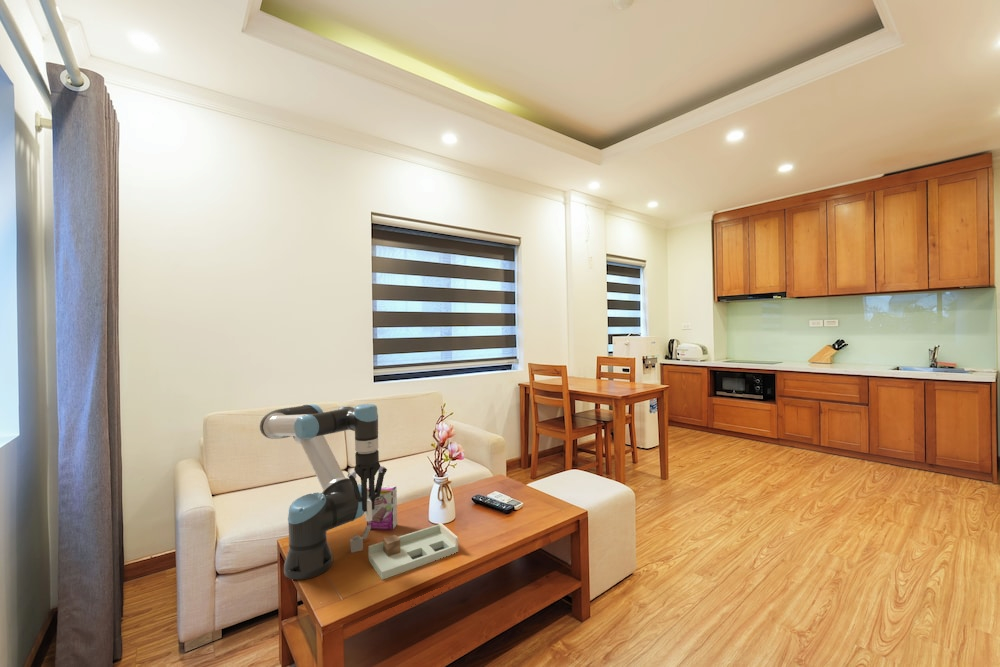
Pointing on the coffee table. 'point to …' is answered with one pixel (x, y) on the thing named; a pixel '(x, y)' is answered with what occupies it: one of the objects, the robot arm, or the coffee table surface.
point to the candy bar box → (384, 509)
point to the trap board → (414, 550)
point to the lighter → (359, 540)
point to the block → (391, 545)
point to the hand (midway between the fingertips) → (368, 519)
